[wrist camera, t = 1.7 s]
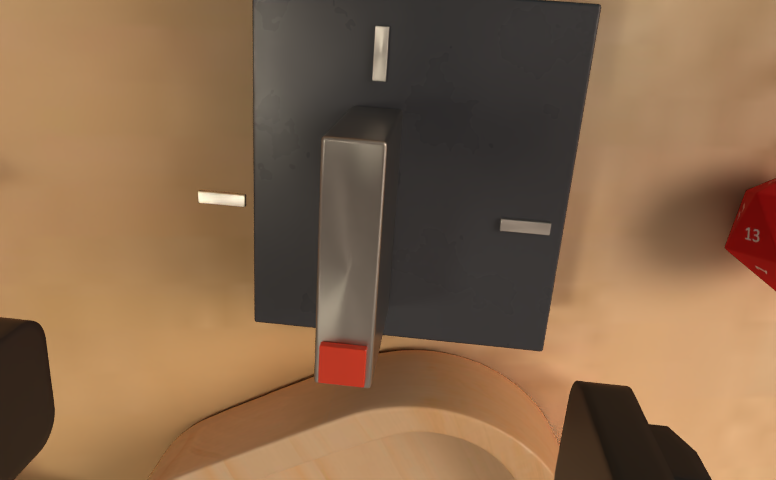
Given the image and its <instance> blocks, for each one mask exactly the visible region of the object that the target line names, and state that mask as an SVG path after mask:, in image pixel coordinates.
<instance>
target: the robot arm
mask: <svg viewBox="0 0 776 480" xmlns="http://www.w3.org/2000/svg"><path fill="white" fill-rule="evenodd" d="M54 415H55V408H54V399H53V391H52V383H51V376H50V368H49V360H48V352H47V344H46V337H45V333H44V330H43V328H42V327H41V325H40V324H39V323H37V322H35V321H30V320H21V319H11V318H2V317H0V480H14V479H15V478H16V476H17V475H18V474H19V473H20V472H21V471H22V470H23V469H24V468H25V467H26V466H27V465H28V464H29V463H30V462H31V460H32V459H33V458H34V457H35V456H36V455H37V454H38V453H39V452H40V451H41V450H42V448H43V447H44V445H45V444H46V442H47V440H48V438H49V436H50V433H51V430H52V427H53V423H54ZM554 480H712V479H711V477H710V476H709V474H708V472H707V470H706V468H705V467H704V465H703V463H702V461H701V459H700V458H699V456H698V454H697V452H696V451H695V450H693V449H692V448H691V447H690V446H689V445H688V444H687V443H686V442H685V441H683V440H682V439H681V438H680V437H679V436H678V435H677V434H676V433H675V432H673V431H672V430H671V429H670V428H669V427H668V426H660V425H651V424H648V422H647V420H646V418H645V416H644V414H643V412H642V409H641V407H640V405H639V403H638V401H637V399H636V397H635V395H634V393H633V391H632V389H631V388H630V387H628V386H620V385H611V384H602V383H593V382H583V381H575V382H574V384H573V385H572V388H571V391H570V395H569V400H568V405H567V410H566V416H565V421H564V426H563V431H562V437H561V442H560V447H559V453H558V458H557V463H556V469H555V476H554Z"/></svg>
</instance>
